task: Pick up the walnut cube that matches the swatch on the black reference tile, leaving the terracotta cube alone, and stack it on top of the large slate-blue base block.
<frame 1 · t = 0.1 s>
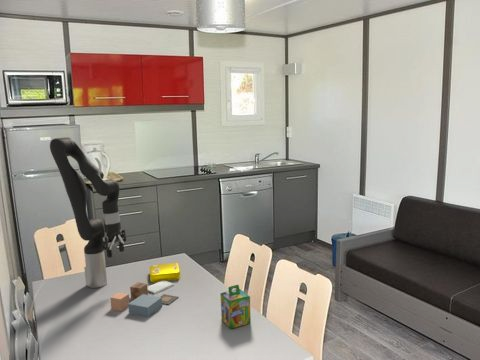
hand: (115, 254, 200), 17 cm above the table, tool pointing down, fingers open, 8 cm apart
chalk box: (236, 322, 166), on the table
slate base block: (145, 310, 179), on the table
element tile: (165, 276, 217), on the table
reference tile: (166, 299, 188), on the table
walnut cube: (139, 296, 193), on the table
terracotta cube: (120, 307, 182), on the table
hard drive: (158, 289, 202), on the table
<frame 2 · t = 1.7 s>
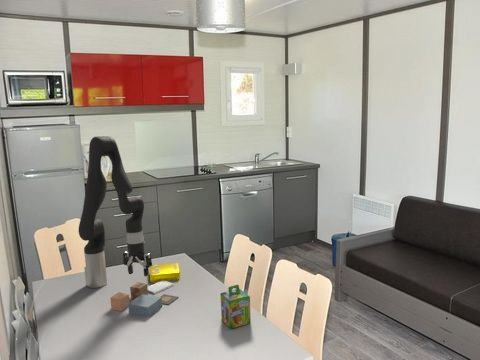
hand: (138, 274, 191), 10 cm above the table, tool pointing down, fingers open, 8 cm apart
nothing on the table moved.
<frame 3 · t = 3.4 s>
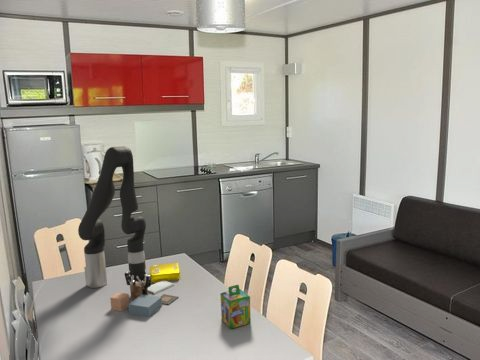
hand: (139, 294, 193), 1 cm above the table, tool pointing down, fingers closed on walnut cube, 5 cm apart
walnut cube: (139, 296, 193), on the table, touching gripper
everything else where it was.
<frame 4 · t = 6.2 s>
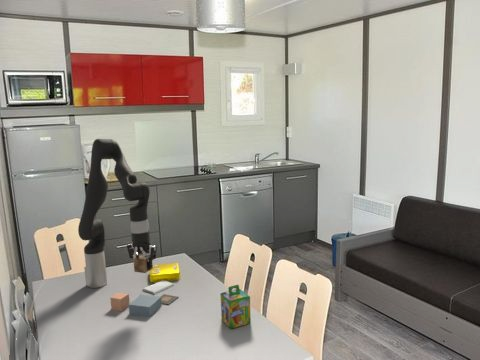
hand: (143, 268, 177), 18 cm above the table, tool pointing down, fingers closed on walnut cube, 5 cm apart
walnut cube: (143, 270, 178), point 17 cm above the table, touching gripper
everything else where it was.
when the fingers open (7 cm above the table, at t = 9.3 s): walnut cube drops 2 cm, resting on slate base block.
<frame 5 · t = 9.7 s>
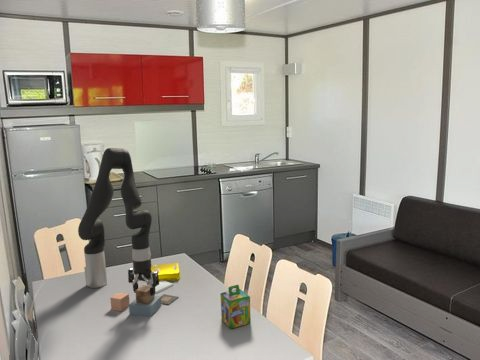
hand: (144, 293, 178), 7 cm above the table, tool pointing down, fingers open, 8 cm apart
slate base block: (145, 310, 179), on the table, touching walnut cube
walnut cube: (145, 300, 179), point 4 cm above the table, touching slate base block
everything else where it was.
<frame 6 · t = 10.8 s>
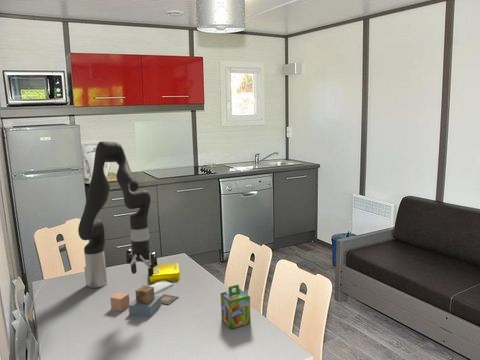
hand: (142, 274, 177), 16 cm above the table, tool pointing down, fingers open, 8 cm apart
slate base block: (145, 310, 179), on the table
walnut cube: (145, 300, 179), point 4 cm above the table
everything else where it was.
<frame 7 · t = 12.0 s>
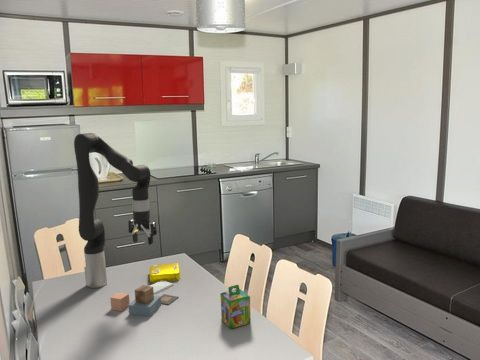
hand: (143, 243, 192), 24 cm above the table, tool pointing down, fingers open, 8 cm apart
nothing on the table moved.
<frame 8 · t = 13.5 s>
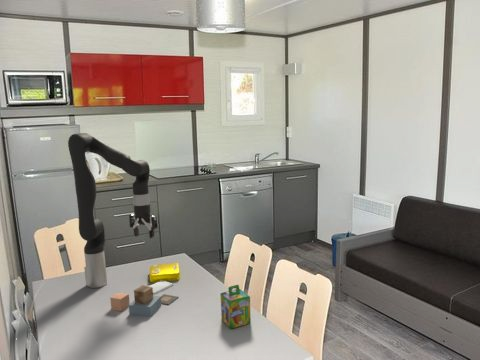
hand: (144, 236, 196), 26 cm above the table, tool pointing down, fingers open, 8 cm apart
slate base block: (145, 310, 179), on the table, touching walnut cube
walnut cube: (144, 300, 179), point 4 cm above the table, touching slate base block
everything else where it was.
at the end: walnut cube 0.3 cm off-centre on the slate base block, point 4.5 cm above the slate base block's base; walnut cube tilted 0°; terracotta cube moved 0.1 cm from its start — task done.
